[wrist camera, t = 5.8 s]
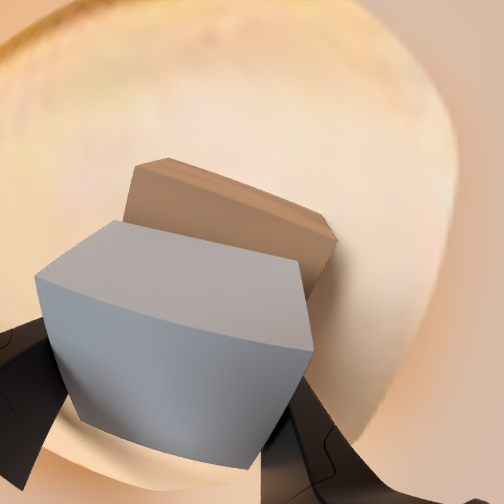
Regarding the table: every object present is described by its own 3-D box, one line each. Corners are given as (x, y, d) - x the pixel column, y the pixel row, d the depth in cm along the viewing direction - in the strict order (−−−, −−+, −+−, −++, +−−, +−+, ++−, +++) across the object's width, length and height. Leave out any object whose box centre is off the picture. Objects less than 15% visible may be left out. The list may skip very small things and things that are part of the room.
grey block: (255, 387, 11) (248, 469, 7) (120, 352, 11) (80, 420, 7) (297, 261, 9) (314, 351, 5) (114, 220, 8) (34, 276, 5)
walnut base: (262, 332, 17) (259, 380, 13) (139, 286, 16) (110, 324, 13) (320, 212, 14) (337, 240, 10) (170, 157, 13) (135, 166, 9)
